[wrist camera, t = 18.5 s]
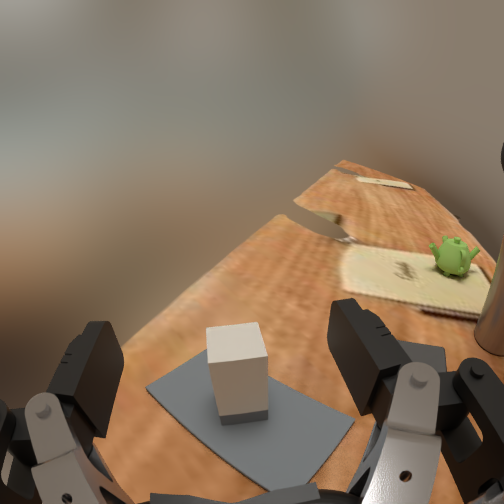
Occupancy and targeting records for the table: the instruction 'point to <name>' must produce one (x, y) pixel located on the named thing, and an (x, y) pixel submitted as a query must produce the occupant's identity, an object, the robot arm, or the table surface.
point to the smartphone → (426, 354)
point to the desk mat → (255, 427)
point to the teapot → (453, 256)
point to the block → (238, 372)
